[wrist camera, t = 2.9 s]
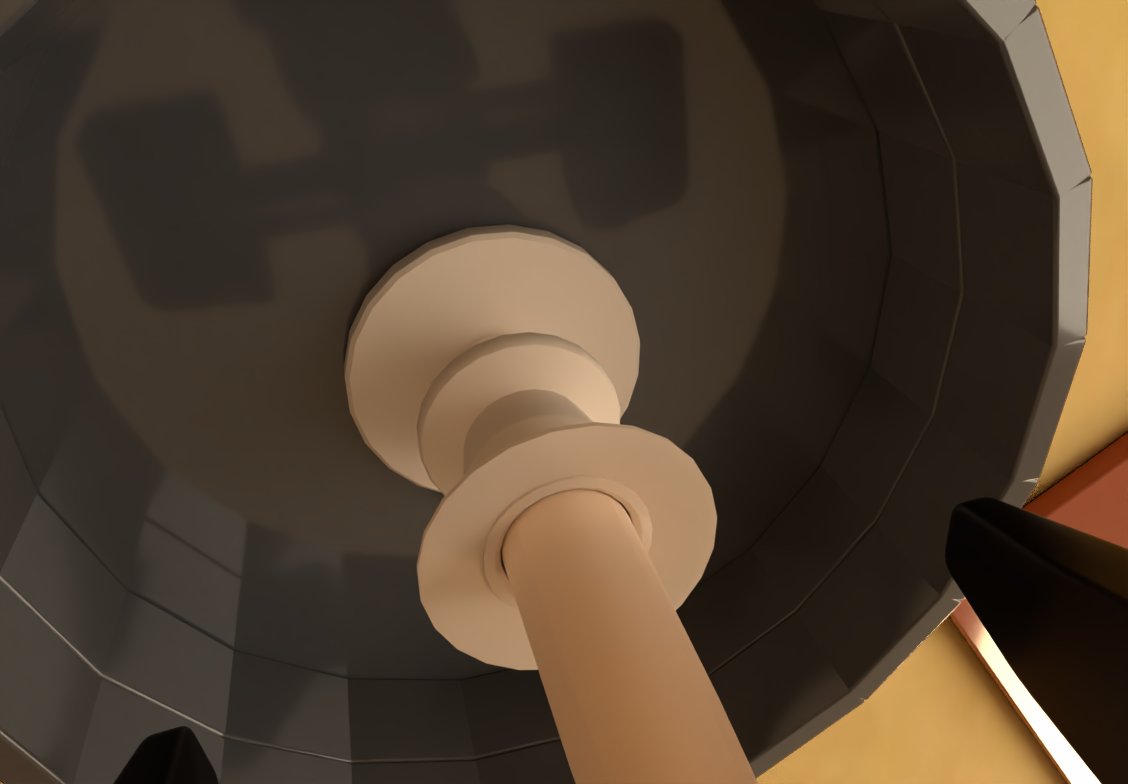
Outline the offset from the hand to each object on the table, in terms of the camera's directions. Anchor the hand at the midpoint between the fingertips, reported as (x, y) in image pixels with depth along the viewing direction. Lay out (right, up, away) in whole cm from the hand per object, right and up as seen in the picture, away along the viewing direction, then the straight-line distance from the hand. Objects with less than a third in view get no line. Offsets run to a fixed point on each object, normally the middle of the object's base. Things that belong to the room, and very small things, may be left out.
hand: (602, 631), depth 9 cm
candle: (-2, +3, +6) cm, 7 cm away
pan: (-2, +3, +6) cm, 7 cm away
